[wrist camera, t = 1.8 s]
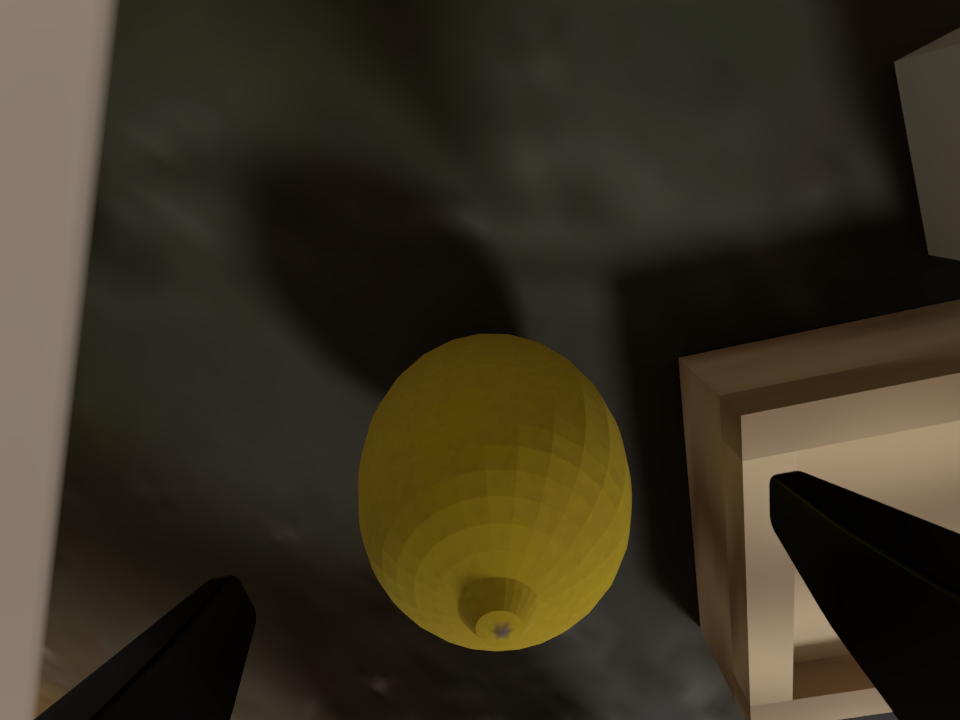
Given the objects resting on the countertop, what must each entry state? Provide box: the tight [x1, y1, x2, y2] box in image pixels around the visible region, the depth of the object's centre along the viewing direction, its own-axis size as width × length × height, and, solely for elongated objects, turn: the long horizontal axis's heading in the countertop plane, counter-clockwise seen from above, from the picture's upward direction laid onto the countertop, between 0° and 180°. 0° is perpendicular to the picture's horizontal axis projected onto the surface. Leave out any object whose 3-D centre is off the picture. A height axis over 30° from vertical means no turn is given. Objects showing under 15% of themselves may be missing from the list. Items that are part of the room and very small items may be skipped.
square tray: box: [678, 299, 960, 720], centre depth 13 cm, size 11×11×4 cm
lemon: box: [358, 334, 632, 651], centre depth 10 cm, size 6×6×8 cm
